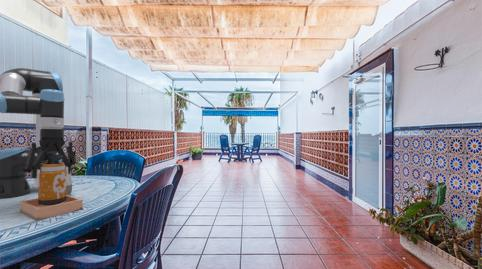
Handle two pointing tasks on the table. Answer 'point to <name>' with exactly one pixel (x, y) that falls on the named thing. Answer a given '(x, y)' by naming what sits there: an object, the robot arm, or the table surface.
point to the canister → (52, 181)
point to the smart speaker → (69, 185)
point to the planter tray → (50, 208)
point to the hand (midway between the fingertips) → (52, 184)
